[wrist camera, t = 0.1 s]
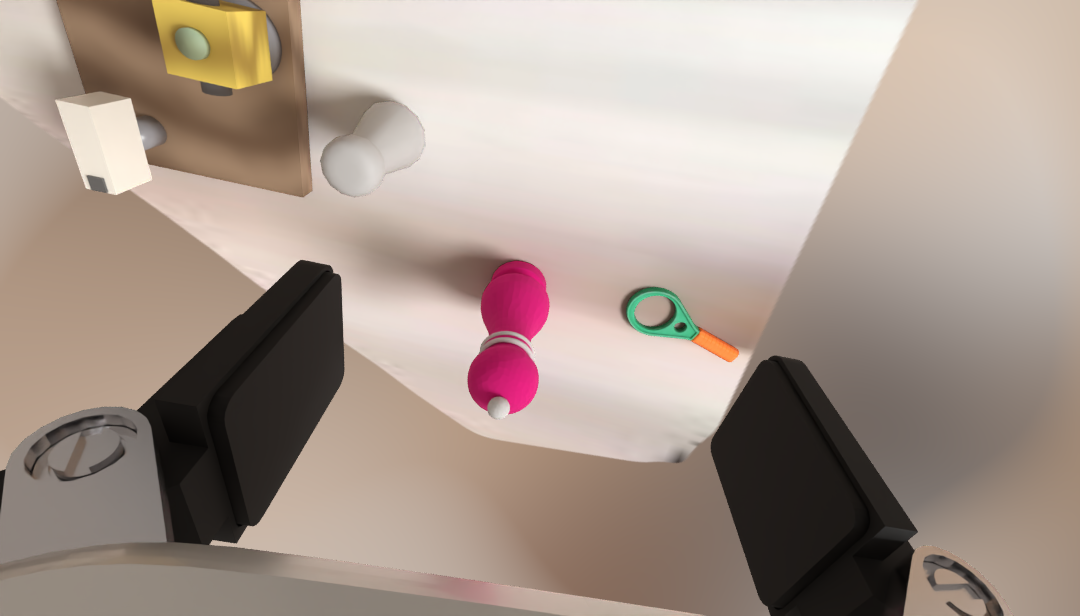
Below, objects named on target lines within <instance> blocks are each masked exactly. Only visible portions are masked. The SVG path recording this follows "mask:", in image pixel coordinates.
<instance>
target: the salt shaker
mask: <svg viewBox="0 0 1080 616" xmlns="http://www.w3.org/2000/svg"><path fill="white" fill-rule="evenodd" d="M424 147H425V130H424V128H423V126H422V124H421V122H420V120H419V118H418V116H416V115H415V114H414V113H413V112H412V111H411V110H410V109H409V108H408V107H407V106H405V105H402V104H398V103H395V102H392V101H387V102H380V103H374V104H373V105H372V106H371V107H370V108H369V109H368V110H367V111H366V112H365V113H364V114H363V116H362V118H361V119H360V121H359V123H358V125H357V126H356V128H355V130H354V132H353V133H352V135H345V136H339V137H336V138H335V139H333V140H332V141H331V142H330V143H329V144H328V145H327V146H326V147H325V148H324V150H323V153H322V156H321V160H320V162H321V167H322V172H323V175H324V176H325V178H326V179H327V181H328V182H329V184H330V185H331V186H332V187H333V188H335V189H336V190H337V191H339V192H340V193H341V194H345V195H348V196H351V197H360V196H366V195H368V194H370V193H371V192H373V191H374V190H375V189H377V188H378V187H379V186H380V185H381V183H382V181H383V178H384V175H385V174H388V173H392V172H395V171H398V170H401V169H404V168H407V167H410V166H411V165H412V164H414V163H415V162H416V161H418V160H419V159H420V157H421V154H422V152H423V150H424Z"/></svg>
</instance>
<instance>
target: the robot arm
mask: <svg viewBox="0 0 1080 616" xmlns="http://www.w3.org/2000/svg"><path fill="white" fill-rule="evenodd" d="M343 376H344V345H343V317H342V289H341V277H340V275H339V274H335V273H333V269H332V267H331V266H330V265H325V264H320V263H315V262H310V261H305V260H300V261H298V262H297V263H296V264H295V265H294V266H293V267H292V268H291V269H290V270H289V271H288V272H286V273H285V274H284V275H283V276H282V277H281V278H280V279H279V280H278V281H277V282H276V283H275V284H274V285H273V286H272V287H271V288H270V289H269V290H268V291H267V292H266V293H265V294H263V296H261V297H260V298H259V299H258V300H257V301H256V302H255V303H254V304H253V305H252V306H251V307H250V308H249V309H248V310H247V311H246V312H245V313H244V314H242V315H239V316H237V317H236V318H235V319H234V320H232V321H231V322H230V323H229V324H228V325H227V326H226V327H225V328H224V329H223V330H222V331H221V332H219V333H218V334H217V335H216V336H215V337H214V338H213V339H212V340H211V341H210V342H209V343H208V344H207V345H206V346H205V347H204V348H203V349H202V350H201V351H199V352H198V353H197V354H196V355H195V356H194V357H193V358H192V359H191V360H190V361H189V362H188V363H187V364H186V365H185V366H183V367H182V368H181V369H180V370H179V371H178V372H177V373H176V374H175V375H174V376H173V377H172V378H171V379H170V380H169V381H168V382H167V383H165V385H163V386H162V387H161V388H160V389H159V390H158V391H157V392H156V393H155V394H154V395H153V396H152V397H151V398H150V399H149V400H148V401H146V403H145V404H143V405H142V406H141V407H140V408H139V409H138V410H137V411H136V410H132V409H128V408H124V407H100V408H93V409H88V410H82V411H79V412H76V413H73V414H70V415H67V416H64V417H61V418H59V419H57V420H55V421H53V422H51V423H49V424H47V425H45V426H43V427H41V428H40V429H38V430H37V431H36V432H34V433H33V434H31V435H30V436H28V437H27V438H26V439H24V440H23V441H22V442H21V444H20V445H19V446H18V447H17V448H16V449H15V450H14V451H13V453H12V454H11V456H10V459H9V461H8V464H7V466H6V469H5V470H2V471H0V616H705V615H699V614H692V613H686V612H680V611H673V610H667V609H660V608H654V607H647V606H640V605H633V604H628V603H621V602H614V601H608V600H601V599H595V598H588V597H581V596H575V595H568V594H562V593H555V592H548V591H542V590H535V589H528V588H522V587H515V586H508V585H502V584H495V583H489V582H482V581H475V580H467V579H461V578H454V577H447V576H441V575H434V574H427V573H420V572H413V571H406V570H400V569H392V568H386V567H379V566H372V565H366V564H359V563H352V562H345V561H337V560H330V559H322V558H314V557H306V556H299V555H291V554H283V553H276V552H268V551H260V550H253V549H245V548H237V547H226V546H214V545H209V544H210V543H211V541H212V540H217V541H223V542H230V543H237V542H238V540H239V539H240V537H241V535H242V534H243V532H244V530H245V529H246V527H247V526H255V525H257V523H258V522H259V521H260V520H261V518H262V517H263V515H264V514H265V512H266V510H267V508H268V507H269V505H270V503H271V501H272V500H273V498H274V497H275V495H276V493H277V492H278V489H279V488H280V487H281V485H282V483H283V481H284V479H285V478H286V476H287V474H288V473H289V471H290V469H291V468H292V466H293V464H294V463H295V461H296V459H297V458H298V456H299V454H300V453H301V451H302V449H303V448H304V446H305V444H306V443H307V441H308V439H309V437H310V436H311V434H312V432H313V431H314V429H315V427H316V425H317V424H318V422H319V421H320V419H321V417H322V415H323V414H324V412H325V410H326V408H327V407H328V405H329V404H330V402H331V400H332V399H333V397H334V395H335V393H336V392H337V390H338V388H339V387H340V385H341V382H342V379H343ZM711 453H712V457H713V460H714V463H715V466H716V469H717V472H718V475H719V478H720V481H721V484H722V487H723V490H724V493H725V496H726V499H727V502H728V505H729V508H730V511H731V514H732V517H733V520H734V523H735V526H736V529H737V532H738V535H739V538H740V541H741V544H742V547H743V550H744V553H745V556H746V559H747V562H748V566H749V569H750V572H751V575H752V577H753V581H754V584H755V586H756V590H757V593H758V595H759V598H760V600H761V601H762V603H763V604H764V605H766V606H768V609H769V612H770V615H771V616H1014V615H1013V613H1012V611H1011V609H1010V608H1009V606H1008V604H1007V602H1006V601H1005V599H1004V598H1003V597H1002V596H1001V594H1000V593H999V592H998V591H997V589H996V588H995V587H994V586H993V585H992V584H991V583H990V582H989V581H988V580H987V579H986V578H985V577H984V576H983V575H982V574H981V573H980V572H979V571H978V570H976V569H975V568H973V567H972V566H971V565H970V564H968V563H967V562H966V561H964V560H963V559H961V558H959V557H958V556H956V555H954V554H952V553H951V552H949V551H946V550H943V549H940V548H938V547H935V546H926V545H923V546H921V547H918V548H916V549H915V550H913V548H912V546H911V545H910V543H909V542H908V540H909V539H910V538H911V537H913V536H914V535H915V534H916V533H917V532H918V531H917V529H916V528H915V527H914V525H913V524H912V522H911V521H910V519H909V518H908V516H907V515H906V513H905V512H904V511H903V509H902V507H901V506H900V504H899V503H898V501H897V500H896V498H895V497H894V495H893V494H892V492H891V491H890V490H889V488H888V487H887V485H886V484H885V482H884V481H883V479H882V478H881V476H880V475H879V473H878V472H877V470H876V469H875V467H874V466H873V464H872V463H871V461H870V460H869V459H868V457H867V455H866V454H865V452H864V451H863V450H862V448H861V447H860V445H859V444H858V442H857V441H856V439H855V438H854V436H853V435H852V433H851V432H850V431H849V429H848V427H847V426H846V424H845V423H844V421H843V420H842V418H841V417H840V416H839V414H838V412H837V411H836V410H835V408H834V407H833V405H832V404H831V402H830V401H829V399H828V398H827V396H826V395H825V393H824V392H823V390H822V389H821V387H820V386H819V385H818V383H817V381H816V380H815V379H814V377H813V376H812V374H811V373H810V371H809V370H808V368H807V367H806V365H805V364H804V363H803V362H802V361H800V360H796V359H791V358H786V357H781V356H772V357H770V358H769V359H768V360H764V361H762V362H761V363H760V364H759V365H758V367H757V369H756V370H755V372H754V373H753V375H752V376H751V378H750V380H749V381H748V383H747V384H746V386H745V387H744V389H743V391H742V392H741V394H740V396H739V397H738V399H737V400H736V402H735V403H734V405H733V406H732V408H731V410H730V411H729V413H728V415H727V416H726V418H725V419H724V421H723V422H722V424H721V426H720V427H719V429H718V430H717V432H716V433H715V435H714V437H713V439H712V442H711Z"/></svg>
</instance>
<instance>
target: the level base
mask: <svg viewBox="0 0 1080 616" xmlns="http://www.w3.org/2000/svg"><path fill="white" fill-rule="evenodd" d="M57 4H58V7H59V10H60V13H61V16H62V20H63V23H64V26H65V29H66V32H67V36H68V39H69V42H70V45H71V48H72V52H73V55H74V58H75V61H76V64H77V68H78V71H79V74H80V77H81V80H82V84H83V87H84V90H85V93H86V94H88V93H94V92H99V91H101V92H105V93H110V94H114V95H119V96H123V97H127V98H131V101H132V105H133V109H134V113H135V116H136V117H139V116H144V115H146V116H150V117H153V118H155V119H156V120H157V121H159V122H160V123H161V124H162V126H163V127H164V129H165V131H166V134H167V140H166V142H165V143H164V144H162V145H159V146H156V147H153V148H150V149H148V150H145V154H146V158H147V162H148V164H150V165H155V166H159V167H164V168H169V169H173V170H178V171H183V172H187V173H192V174H197V175H201V176H206V177H211V178H215V179H220V180H224V181H229V182H234V183H238V184H243V185H248V186H252V187H257V188H262V189H266V190H271V191H276V192H280V193H285V194H290V195H294V196H299V197H304V196H306V195H307V194H308V193H310V192H311V191H312V177H311V162H310V147H309V131H308V116H307V101H306V85H305V70H304V55H303V40H302V24H301V9H300V0H57Z"/></svg>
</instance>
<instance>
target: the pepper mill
mask: <svg viewBox="0 0 1080 616" xmlns="http://www.w3.org/2000/svg"><path fill="white" fill-rule="evenodd" d="M548 312H549V298H548V295H547V293H546V281H545V278H544V276H543V274H542V273H541V271H540V270H539V269H538V268H536V267H535V266H533V265H532V264H530V263H526V262H523V261H512V262H508V263H505V264H503V265H501V266H500V267H499V268H498V269H497V270H496V271H495V272H494V274H493V276H492V280H491V282H490V283H489V284H488V286H487V287H486V289H485V290H484V292H483V295H482V300H481V313H482V318H483V322H484V324H485V326H486V328H487V330H488V333H489V336H488V337H487V338H486V339H485V340H484V341H483V342H482V344H481V347H480V352H479V355H477V357H476V358H475V359H474V360H473V362H472V364H471V366H470V369H469V372H468V388H469V392H470V394H471V396H472V398H473V400H474V401H475V402H476V403H477V404H478V405H479V406H480V407H481V408H483V409H484V410H486V411H488V413H489V415H490V416H491V417H492V418H494V419H503V418H505V417H506V416H507V415H508V414H512V413H516V412H518V411H520V410H522V409H523V408H525V407H526V406H527V405H528V404H529V403H530V402H531V401H532V399H533V398H534V396H535V394H536V391H537V388H538V381H539V375H538V370H537V367H536V365H535V363H534V358H535V350H534V347H533V345H532V344H531V339H532V338H533V337H534V336H535V335H536V334H537V333H538V332H539V331H540V330H541V328H542V327H543V325H544V324H545V322H546V320H547V317H548Z"/></svg>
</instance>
